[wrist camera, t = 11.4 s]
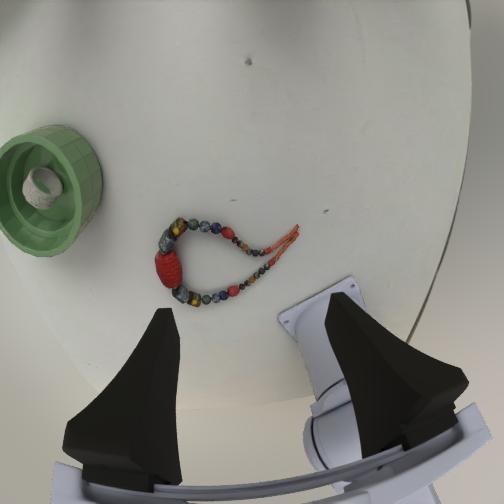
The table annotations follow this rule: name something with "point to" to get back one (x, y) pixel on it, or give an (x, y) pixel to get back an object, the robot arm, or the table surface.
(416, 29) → the table surface
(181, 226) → the necklace
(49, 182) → the ring
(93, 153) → the bowl
